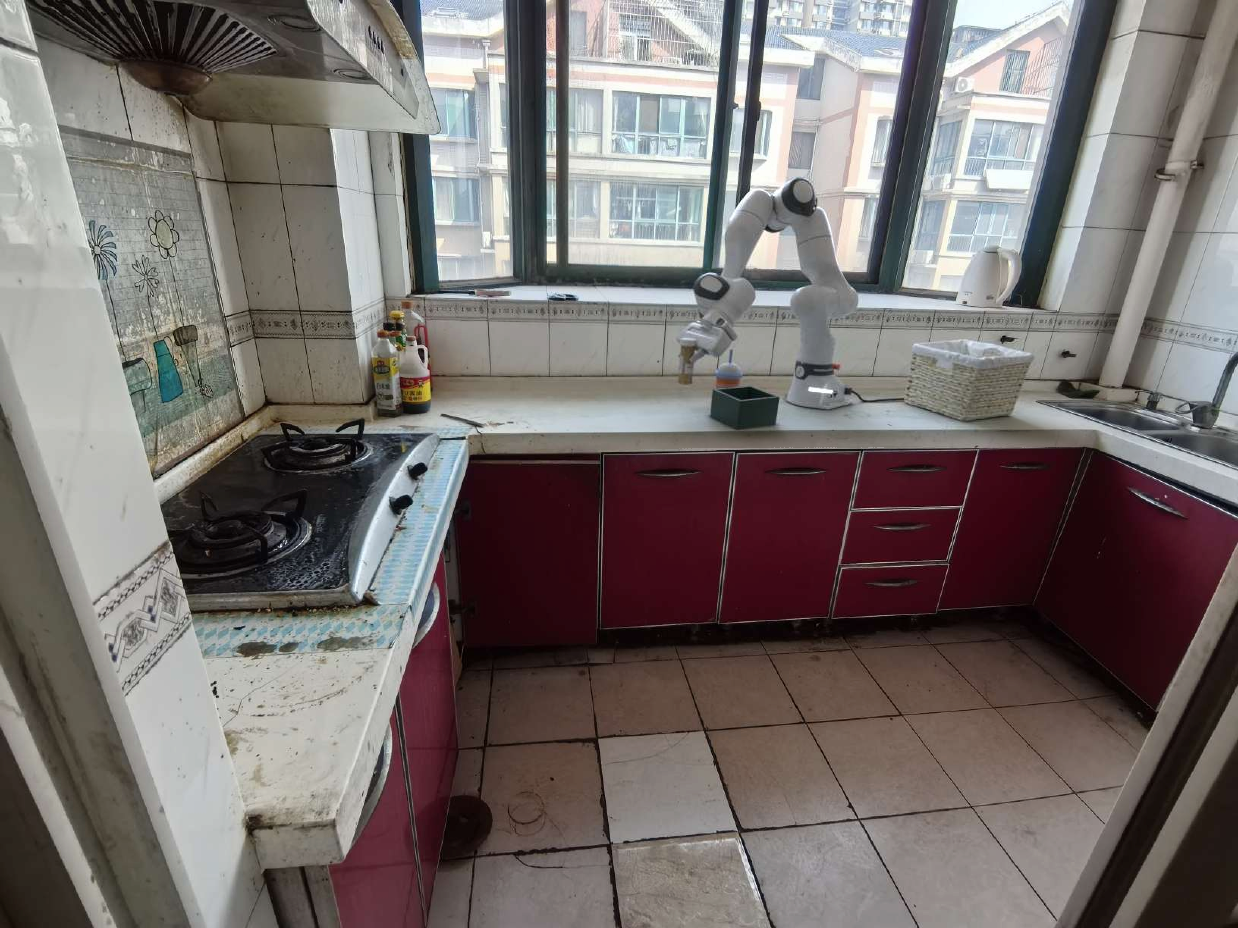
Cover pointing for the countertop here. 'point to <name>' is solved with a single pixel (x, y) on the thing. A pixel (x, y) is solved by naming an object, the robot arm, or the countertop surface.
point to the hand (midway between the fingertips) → (685, 360)
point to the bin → (744, 407)
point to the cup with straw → (728, 374)
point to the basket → (966, 378)
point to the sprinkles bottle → (686, 361)
